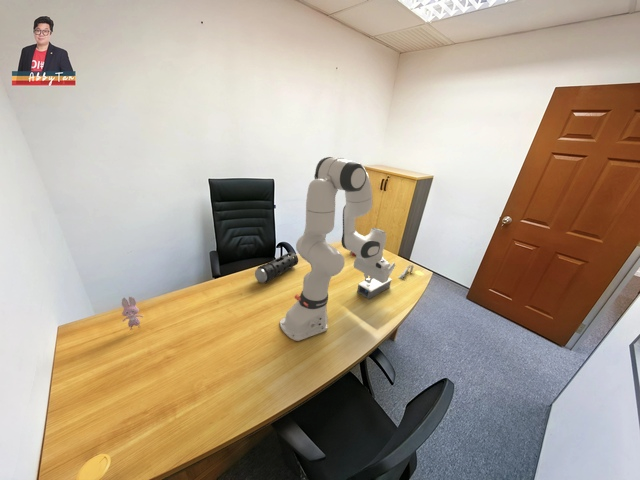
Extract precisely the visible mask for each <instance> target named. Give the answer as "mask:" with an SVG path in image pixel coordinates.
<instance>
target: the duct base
mask: <svg viewBox="0 0 640 480" xmlns="http://www.w3.org/2000/svg"><path fill="white" fill-rule="evenodd" d="M391 284H392V281H390V282H388V283H387V284H385V285H383V286H381V287H379V288H377V289H376V290H374V291H372V292H370V291H368V292H367V293H366V292H365V290H366V289H365V288H363V287H361V286H360V285H357V289H356V290H357V291H356V292H357V293H358V294H359V295H362V296H363V297H364V298H366V299H367V300H370V299H372V298H374V297H375V296H378V294H380V293H382V292H385V291H386V290H387V289H389V288H390V286H391Z"/></svg>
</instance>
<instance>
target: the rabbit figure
mask: <svg viewBox="0 0 640 480" xmlns="http://www.w3.org/2000/svg"><path fill="white" fill-rule="evenodd" d="M121 306H122V309H123V310H122V312H121V315H122V316H124V317H125V318H123V319H122V322H125V321H126V320H128V322H127V325H128V328H130V330H133V327H135V326H138V327H137V329H140V328H141V325H140V324H141V321H140V319H139V318H143V317H144V315H141V314H138V313H139V312H140V309H139V308H138V307H137V300H136V299H135V298H134V297H133V296H128V299H127V298H126V297H123V298H122V299H121Z"/></svg>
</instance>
